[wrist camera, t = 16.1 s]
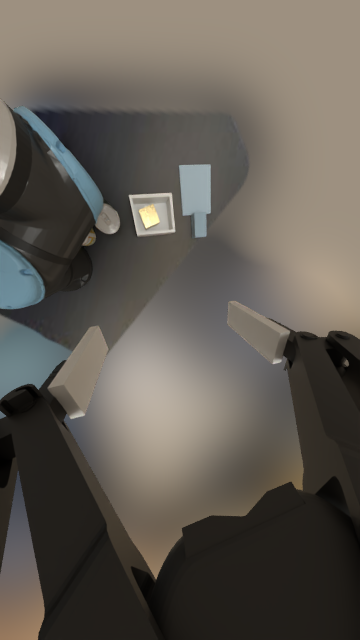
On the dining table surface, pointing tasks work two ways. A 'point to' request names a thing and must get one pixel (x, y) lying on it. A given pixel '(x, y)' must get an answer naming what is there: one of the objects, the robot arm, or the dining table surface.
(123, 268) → the dining table surface
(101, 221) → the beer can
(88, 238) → the supplement bottle
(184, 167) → the lid
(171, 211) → the tub
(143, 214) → the brass part
